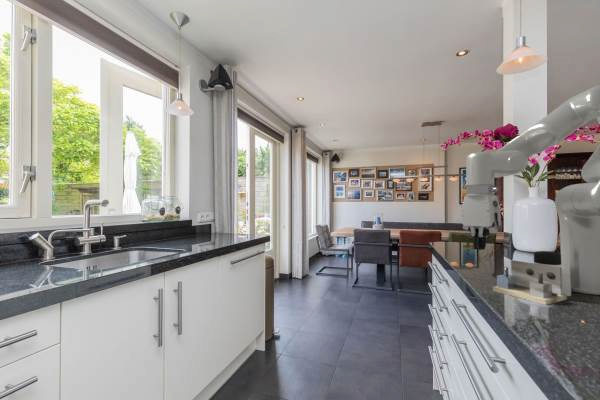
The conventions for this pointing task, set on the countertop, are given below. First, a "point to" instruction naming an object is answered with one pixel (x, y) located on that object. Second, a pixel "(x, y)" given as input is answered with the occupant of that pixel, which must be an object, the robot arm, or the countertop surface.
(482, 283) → the countertop surface
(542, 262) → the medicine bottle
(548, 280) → the board
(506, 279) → the sliding pin
